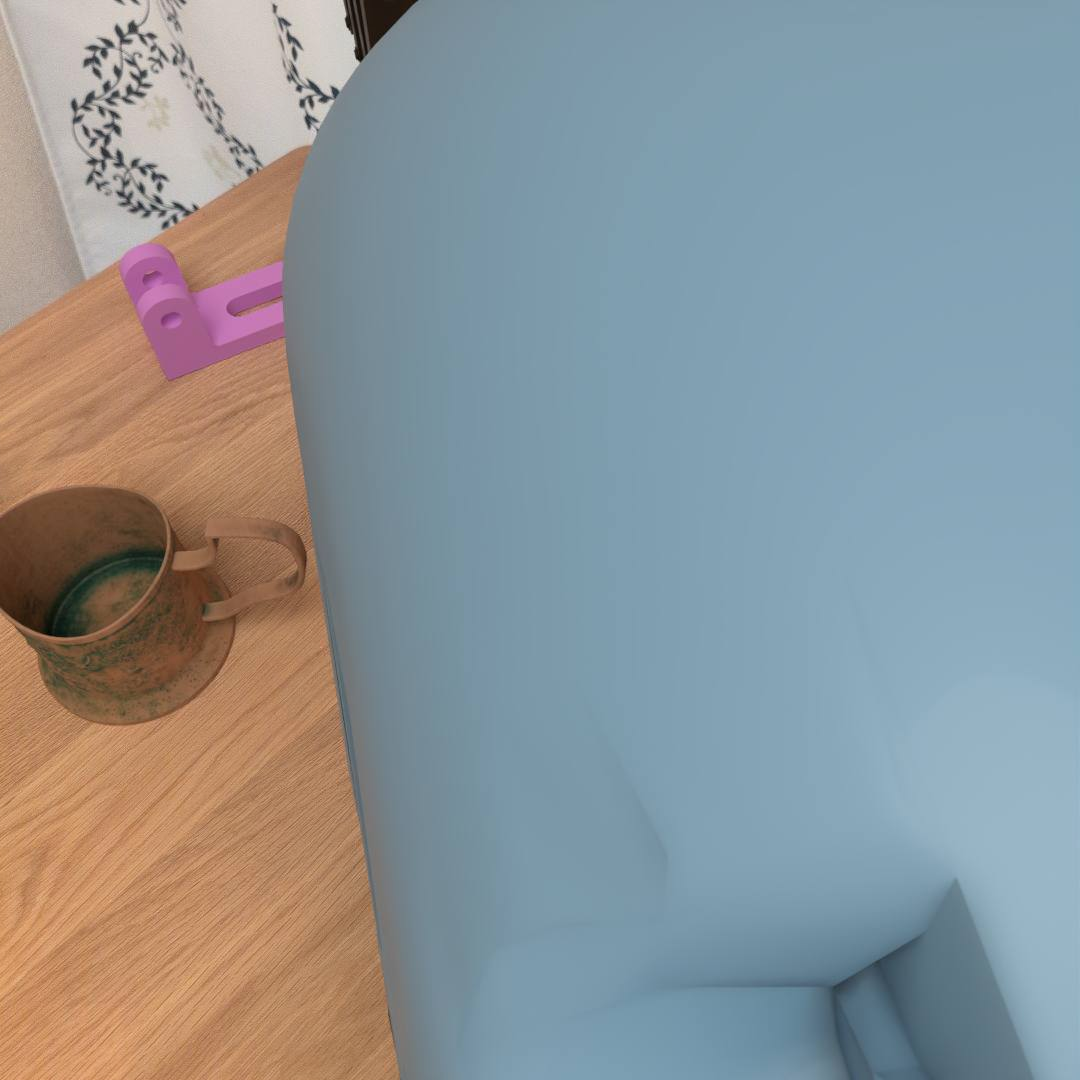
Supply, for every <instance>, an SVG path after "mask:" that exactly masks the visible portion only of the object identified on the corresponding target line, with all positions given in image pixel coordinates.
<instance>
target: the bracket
mask: <svg viewBox="0 0 1080 1080" xmlns="http://www.w3.org/2000/svg"><path fill="white" fill-rule="evenodd" d="M180 269H181V268H180V267H179V265H178V263H177V261H176V259H175V257H174V254H173V252H172V251H171V250H170V249H169V248H167V247H166V246H164V245H161V244H158V243H142V244H138V245H136V246H134V247H132V248H130V249H129V250H128V251H127V252H125V253H124V254H123V256H122V257H121V258H120V261H119V263H118V272H119V275H120V277H121V280H122V283H123V285H124V288H125V289H126V291H127V294H128V295H129V298H130V300H131V302H132V305H133V306H134V309H135V311H136V315H137V318H138V320H139V322H140V325H141V327H142V329H143V331H144V334H145V335H146V338H147V339H148V342H149V344H150V346H151V348H152V351H153V352H154V354H155V357H156V358H157V361H158V363H159V364H160V367H161V369H162V371H163V373H164V374H165V377H166V379H167V381H168V382H170V381H172V380H175V379H178V378H180V377H183V376H185V375H187V374H190V373H193V372H196V371H198V370H201V369H204V368H206V367H209V366H212V365H214V364H216V363H219V362H221V361H225V360H226V359H227V360H228V359H230V358H232V357H234V356H237V355H240V354H242V353H245V352H248V351H250V350H253V349H256V348H258V347H261V346H263V345H265V344H268V343H271V342H273V341H277V340H278V339H281V338H285V330H284V317H283V300H281V301H278V302H276V303H273V304H270V305H268V306H265V307H262V308H259V309H257V310H254V311H252V312H248V313H247V314H244V315H241V316H236V315H237V314H238V313H241V312H244V311H247V310H249V309H251V308H254V307H257V306H260V305H262V304H265V303H268V302H270V301H273V300H275V299H278V298H280V297H281V298H282V271H283V260H281V261H278V262H277V261H276V262H275V263H271V264H269V265H267V266H263V267H260V268H259V269H255V270H253V271H250V272H247V273H245V274H242V275H239V276H237V277H234V278H231V279H229V280H226V281H223V282H221V283H218V284H215V285H212V286H210V287H207V288H205V289H204V288H203V289H201V290H199V291H196V292H192V291H189V288H188V286H187V283H186V281H185V279H184V277H183V274H182V271H181V270H180ZM149 272H151V273H149Z"/></svg>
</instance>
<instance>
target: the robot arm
mask: <svg viewBox="0 0 1080 1080" xmlns="http://www.w3.org/2000/svg"><path fill="white" fill-rule="evenodd" d="M342 2H343V6H344V11H345V17H344V22H345V27H346V29H347V30H348V31H349V32H350V35H351V36H353V40H354V45H355V46H354V49H353V53H354V57H355V60H356V61H357V62H358V63H359V64H358V65H357V67H355V69H354V71H353V72H352V74H351V75H350V76H349V78H348V79H347V81H346V82H345V83H344V85H343V87H342V88H341V90H340V91H339V92H338V94H337V95H336V96H335V99H334V101H333V102H332V104H331V106H330V108H329V109H328V111H327V112H326V114H325V116H324V119H323V120H322V122H321V124H320V126H319V128H318V130H317V133H316V135H315V137H314V140H313V141H312V144H311V146H310V148H309V151H308V154H307V155H306V158H305V161H304V163H303V166H302V171H301V173H300V175H299V179H298V182H297V186H296V188H295V192H294V194H293V198H292V204H291V210H290V213H289V219H288V224H287V229H286V235H285V243H284V249H283V255H282V256H283V258H282V261H283V271H282V296H281V298H282V301H283V317H284V330H285V336H284V341H285V353H286V354H285V355H286V361H287V363H286V364H287V370H288V378H289V385H290V392H291V401H292V408H293V415H294V422H295V427H296V428H295V429H296V434H297V440H298V446H299V447H298V448H299V453H300V459H301V465H302V471H303V479H304V486H305V493H306V500H307V507H308V514H309V520H310V521H309V522H310V527H311V528H310V529H311V535H312V542H313V549H314V556H315V562H316V564H315V565H316V570H317V576H318V583H319V589H320V594H321V595H320V596H321V601H322V608H323V609H322V610H323V615H324V621H325V627H326V633H327V634H326V635H327V641H328V646H329V654H330V660H331V666H332V672H333V679H334V680H333V681H334V685H335V686H334V687H335V691H336V698H337V704H338V711H339V718H340V724H341V729H342V736H343V741H344V749H345V756H346V761H347V762H346V763H347V768H348V774H349V779H350V785H351V789H352V795H353V799H354V804H355V810H356V813H357V817H358V822H359V827H360V832H361V834H360V835H361V841H362V847H363V852H364V853H363V854H364V858H365V865H366V872H367V878H368V884H369V890H370V896H371V903H372V908H373V915H374V921H375V922H374V923H375V932H376V939H377V948H378V953H379V960H380V966H381V971H382V977H383V983H384V989H385V996H386V1002H387V1016H388V1021H389V1025H390V1031H391V1036H392V1040H393V1046H394V1050H395V1055H396V1062H397V1067H398V1075H399V1076H398V1077H399V1080H1080V0H342Z"/></svg>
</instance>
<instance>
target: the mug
mask: <svg viewBox="0 0 1080 1080" xmlns="http://www.w3.org/2000/svg"><path fill="white" fill-rule="evenodd" d="M203 537H204V539H205V541H206V543H207V546H205V547H202V548H199V549H193V550H186V548H185V547H184V545H183V543H182V542H181V540H180V539H179V537H178V535H177V533H176V531H175V530H174V528H173V527H172V524H171V521H170V520H169V518H168V515H166V513H165V510H164V509H163V508H162V506H161V505H160V504H159V503H158V501H156V500H155V499H154V498H153V497H151V496H150V495H148V494H147V493H144V491H143V492H142V491H140V490H138V489H134V488H132V487H131V488H130V487H126V486H120V485H113V484H96V483H95V484H74V485H66V486H61V487H55V488H52V489H48V490H44V491H41V492H39V493H36V494H33V495H30V496H28V497H27V498H25V499H23V500H21V501H19V502H17V503H16V504H13V505H12V506H11V507H9V508H8V509H6V510H5V511H3V512H2V513H1V514H0V614H1V615H2V617H4V619H5V620H6V621H8V622H9V623H10V624H11V625H12V626H13V627H14V628H15V629H16V630H17V632H18V633H19V634H20V635H21V636H22V637H23V638H24V639H25V640H26V644H27V645H28V646H29V647H30V648H32V649H33V650H34V651H35V653H36V655H37V657H36V658H37V666H38V670H39V675H40V677H41V679H42V682H43V684H44V686H45V688H46V689H47V691H48V692H49V694H50V695H51V696H52V697H53V698H54V700H55V701H56V702H57V703H58V704H59V705H60V706H62V707H63V708H64V709H65V710H66V711H68V712H69V713H71V714H73V715H75V716H76V717H78V718H80V719H82V720H85V721H87V722H91V723H94V724H98V725H103V726H104V725H105V726H114V727H115V726H117V727H118V726H119V727H120V726H122V727H123V726H133V725H139V724H144V723H148V722H152V721H154V720H155V721H156V720H157V719H161V718H163V717H166V716H168V715H169V714H171V713H174V712H175V711H178V710H179V709H181V708H183V707H184V706H186V705H187V704H189V703H190V702H191V701H193V700H194V699H195V698H197V696H199V695H200V694H201V693H202V692H203V691H205V689H206V688H207V687H208V686H210V684H211V683H212V682H213V680H214V679H215V678H216V676H217V675H218V674H219V672H220V670H221V669H222V668H223V666H224V664H225V663H226V660H227V658H228V656H229V653H230V651H231V649H232V645H233V642H234V637H235V631H236V630H235V629H236V616H235V615H237V614H238V613H240V612H241V611H243V610H245V609H248V608H249V607H253V606H254V605H257V604H262V603H265V602H270V601H275V600H279V599H283V598H286V597H287V598H288V597H289V596H291V595H294V594H295V593H297V592H298V591H300V590H301V588H302V587H303V585H304V583H305V579H306V573H307V564H308V553H307V549H306V547H305V544H304V542H303V539H302V537H301V536H300V534H299V533H298V532H297V531H296V530H295V529H294V528H293V527H290V526H289V525H288V524H285V523H282V522H279V521H277V520H271V519H264V518H259V517H258V518H256V517H208V518H206V522H205V527H204V534H203ZM220 539H249V540H251V539H252V540H260V541H268V542H272V543H275V544H279V545H281V546H283V547H285V548H286V549H287V550H289V552H290V553H291V555H292V557H293V559H294V562H295V564H296V566H297V569H296V571H295V572H294V573H292V574H291V575H289V576H287V577H284V578H281V579H277V580H271V581H268V582H263V583H260V584H255V585H253V586H251V587H248V588H246V589H244V590H242V591H240V592H239V593H237V594H235V595H233V596H232V597H231V595H230V593H229V591H228V590H227V587H226V585H225V583H224V582H223V580H222V579H221V577H220V576H219V575H218V574H217V572H216V571H214V570H213V569H212V568H211V567H210V565H211V564H212V563H214V561H215V560H216V558H217V554H218V548H219V543H220Z"/></svg>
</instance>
